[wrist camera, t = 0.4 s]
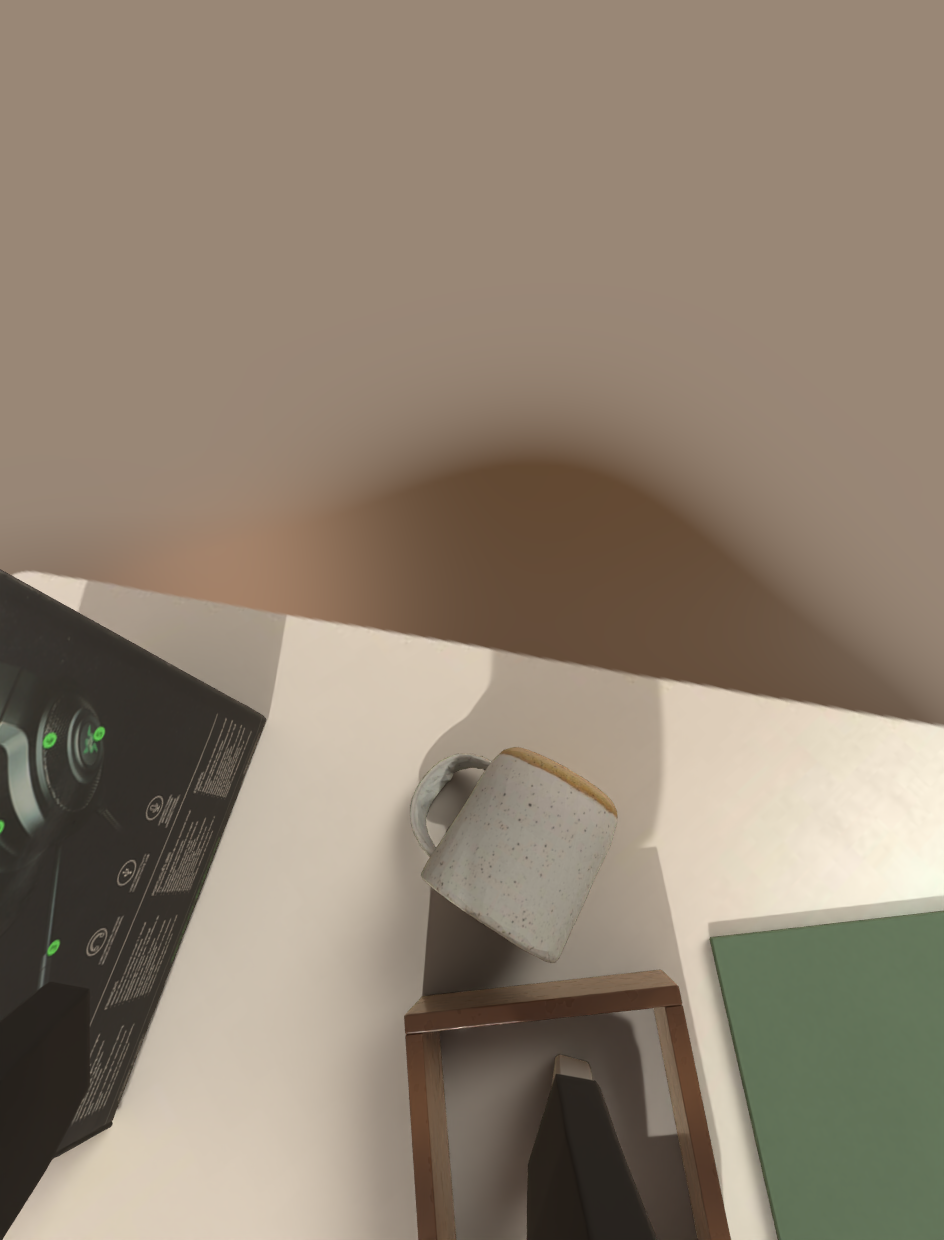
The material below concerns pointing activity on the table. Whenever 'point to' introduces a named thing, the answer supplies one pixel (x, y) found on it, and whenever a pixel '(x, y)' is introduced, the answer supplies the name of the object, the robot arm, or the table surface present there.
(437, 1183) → the walnut box
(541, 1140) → the robot arm
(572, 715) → the table surface
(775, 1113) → the rubber mat
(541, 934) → the ceramic mug
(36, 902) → the headset box
